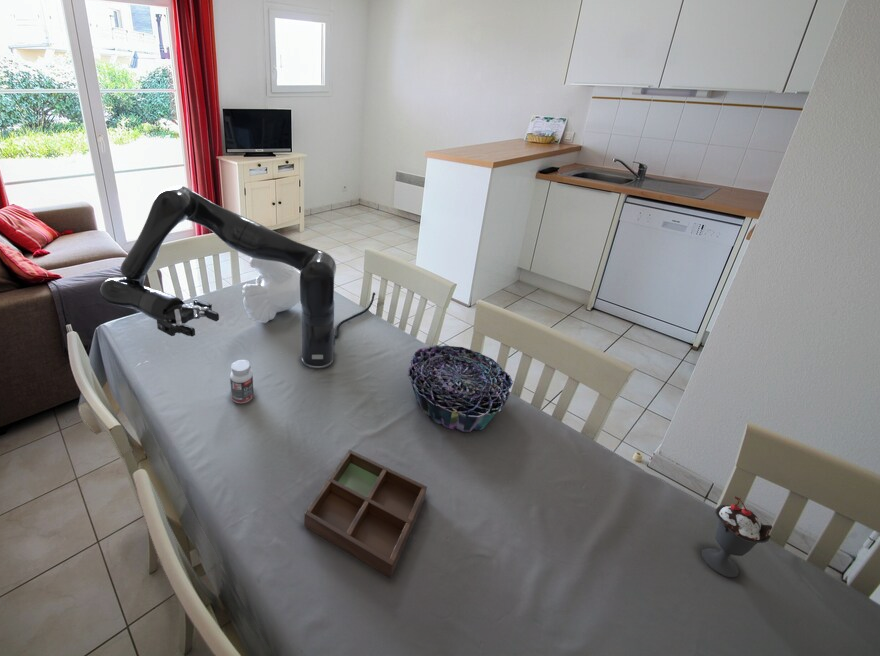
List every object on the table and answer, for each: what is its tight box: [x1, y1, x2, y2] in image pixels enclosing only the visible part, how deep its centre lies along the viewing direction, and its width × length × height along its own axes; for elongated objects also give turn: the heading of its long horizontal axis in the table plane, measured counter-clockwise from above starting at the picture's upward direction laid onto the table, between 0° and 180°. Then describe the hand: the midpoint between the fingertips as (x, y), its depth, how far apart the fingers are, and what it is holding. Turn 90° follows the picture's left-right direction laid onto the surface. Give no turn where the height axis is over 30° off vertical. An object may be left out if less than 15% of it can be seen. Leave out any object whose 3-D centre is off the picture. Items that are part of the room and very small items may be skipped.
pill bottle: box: [229, 359, 255, 404], centre depth 110 cm, size 6×6×10 cm
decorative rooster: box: [241, 257, 300, 324], centre depth 148 cm, size 25×16×25 cm
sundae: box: [701, 496, 773, 578], centre depth 72 cm, size 7×7×15 cm
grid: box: [304, 449, 428, 579], centre depth 82 cm, size 17×17×3 cm
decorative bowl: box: [407, 344, 514, 433], centre depth 110 cm, size 26×28×10 cm
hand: (206, 325), depth 109 cm, fingers open, 8 cm apart
